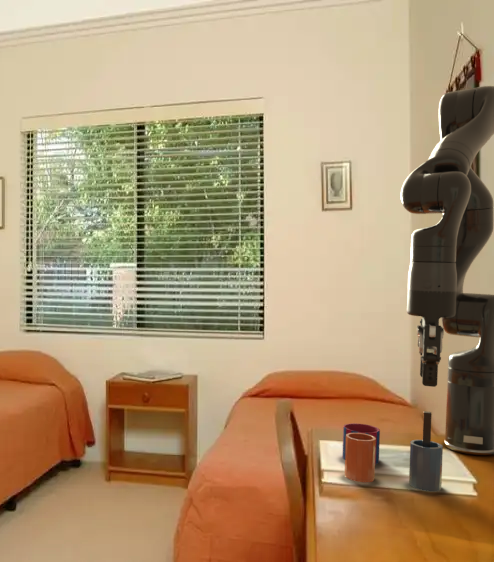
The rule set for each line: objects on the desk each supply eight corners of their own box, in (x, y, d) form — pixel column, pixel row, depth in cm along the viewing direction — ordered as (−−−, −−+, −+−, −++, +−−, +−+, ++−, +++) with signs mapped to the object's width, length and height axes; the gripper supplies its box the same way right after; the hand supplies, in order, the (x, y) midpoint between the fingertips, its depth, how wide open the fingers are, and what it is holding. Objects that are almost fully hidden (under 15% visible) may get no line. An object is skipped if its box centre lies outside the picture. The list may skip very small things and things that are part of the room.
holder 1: (360, 474, 111) (361, 431, 111) (380, 483, 107) (382, 439, 106) (338, 477, 110) (339, 434, 109) (358, 486, 105) (359, 442, 105)
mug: (381, 460, 119) (382, 427, 119) (371, 475, 111) (372, 439, 110) (346, 454, 123) (347, 421, 122) (334, 467, 114) (335, 432, 114)
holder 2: (423, 482, 108) (425, 438, 107) (447, 492, 103) (449, 446, 103) (402, 485, 106) (403, 441, 106) (425, 496, 101) (427, 449, 101)
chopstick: (420, 484, 105) (423, 411, 105) (428, 485, 105) (431, 411, 104) (421, 486, 104) (423, 412, 104) (428, 487, 104) (431, 413, 103)
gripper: (460, 290, 95) (456, 391, 96) (452, 287, 108) (449, 376, 109) (408, 289, 98) (405, 386, 99) (406, 286, 111) (403, 372, 112)
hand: (428, 381), depth 104 cm, fingers open, 8 cm apart
